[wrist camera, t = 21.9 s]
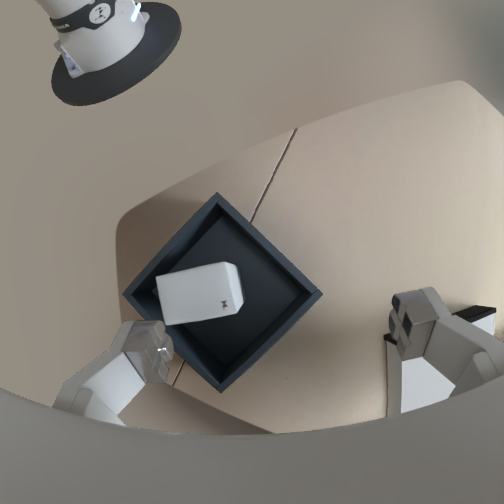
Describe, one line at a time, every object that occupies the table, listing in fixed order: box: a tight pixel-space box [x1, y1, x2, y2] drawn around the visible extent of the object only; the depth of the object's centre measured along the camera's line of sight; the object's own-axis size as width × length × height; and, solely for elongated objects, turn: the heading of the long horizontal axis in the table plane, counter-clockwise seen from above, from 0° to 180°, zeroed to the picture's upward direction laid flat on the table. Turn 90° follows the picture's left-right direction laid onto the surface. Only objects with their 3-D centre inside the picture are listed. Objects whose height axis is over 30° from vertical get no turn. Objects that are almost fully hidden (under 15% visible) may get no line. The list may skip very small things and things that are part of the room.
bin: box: [122, 192, 323, 393], centre depth 31 cm, size 15×15×7 cm
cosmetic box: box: [156, 262, 246, 325], centre depth 28 cm, size 6×4×12 cm
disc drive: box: [384, 305, 496, 417], centre depth 30 cm, size 18×22×5 cm
